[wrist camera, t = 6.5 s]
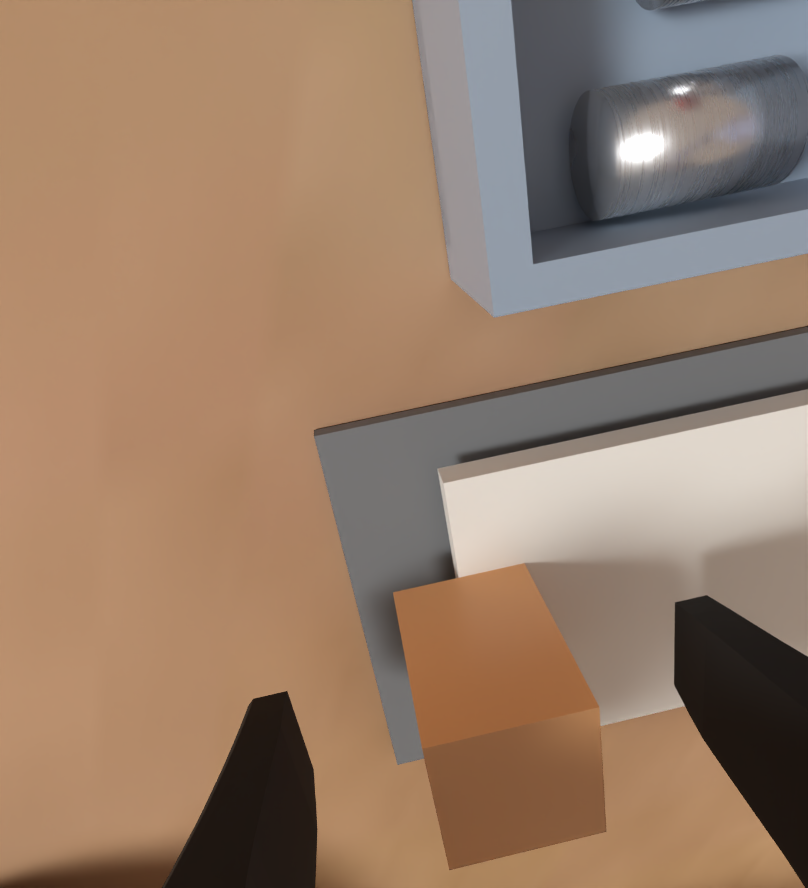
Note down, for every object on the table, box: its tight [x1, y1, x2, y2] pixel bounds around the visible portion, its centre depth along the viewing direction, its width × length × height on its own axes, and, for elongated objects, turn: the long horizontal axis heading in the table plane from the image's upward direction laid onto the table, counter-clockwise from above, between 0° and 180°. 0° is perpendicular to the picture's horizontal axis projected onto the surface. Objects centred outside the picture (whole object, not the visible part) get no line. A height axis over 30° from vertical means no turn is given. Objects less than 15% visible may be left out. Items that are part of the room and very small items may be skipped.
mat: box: [314, 327, 808, 765], centre depth 14 cm, size 13×9×1 cm
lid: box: [393, 389, 808, 870], centre depth 12 cm, size 10×7×5 cm
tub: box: [412, 0, 808, 317], centre depth 9 cm, size 8×6×3 cm
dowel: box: [569, 55, 808, 221], centre depth 10 cm, size 3×2×2 cm, turn 100°
